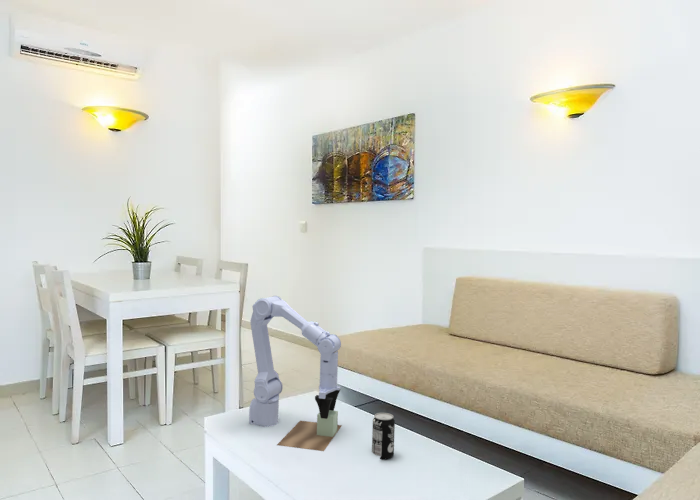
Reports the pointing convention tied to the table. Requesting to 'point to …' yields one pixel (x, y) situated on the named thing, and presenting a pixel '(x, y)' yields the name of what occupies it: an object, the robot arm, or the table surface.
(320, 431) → the green slotted cube
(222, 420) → the table surface
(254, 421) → the robot arm
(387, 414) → the beverage can
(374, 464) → the table surface
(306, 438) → the board
